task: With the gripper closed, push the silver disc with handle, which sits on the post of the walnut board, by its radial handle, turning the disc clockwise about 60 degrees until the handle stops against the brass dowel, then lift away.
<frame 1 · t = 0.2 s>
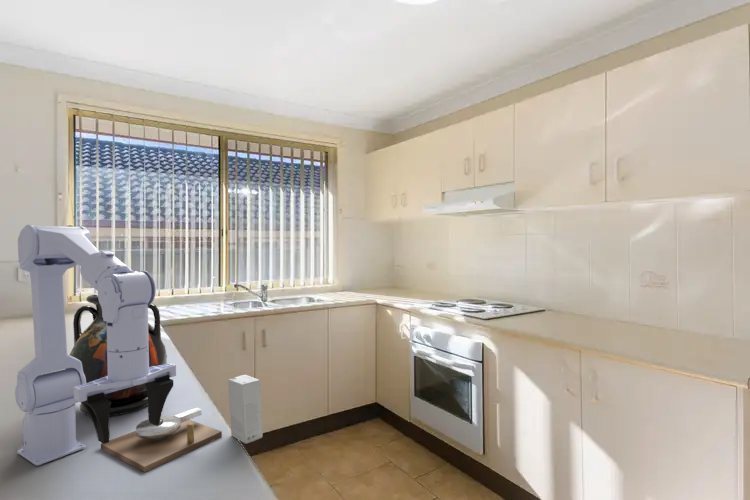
hand: (130, 432, 67), 10 cm above the worktop, tool pointing down, fingers open, 7 cm apart
amphora vase: (119, 406, 104), on the worktop
base board: (162, 442, 84), on the worktop
silver disc with handle: (170, 420, 86), point 4 cm above the worktop, hinge at 90.0°
skincare box: (245, 437, 87), on the worktop
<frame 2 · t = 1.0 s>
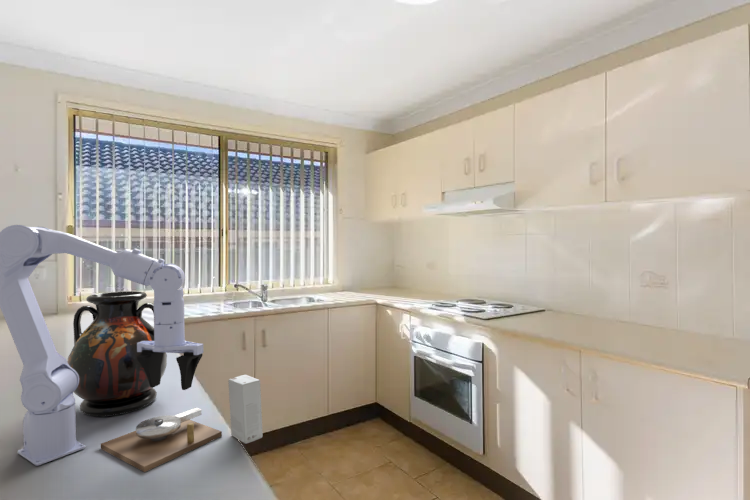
hand: (170, 387, 87), 10 cm above the worktop, tool pointing down, fingers open, 7 cm apart
nothing on the worktop moved.
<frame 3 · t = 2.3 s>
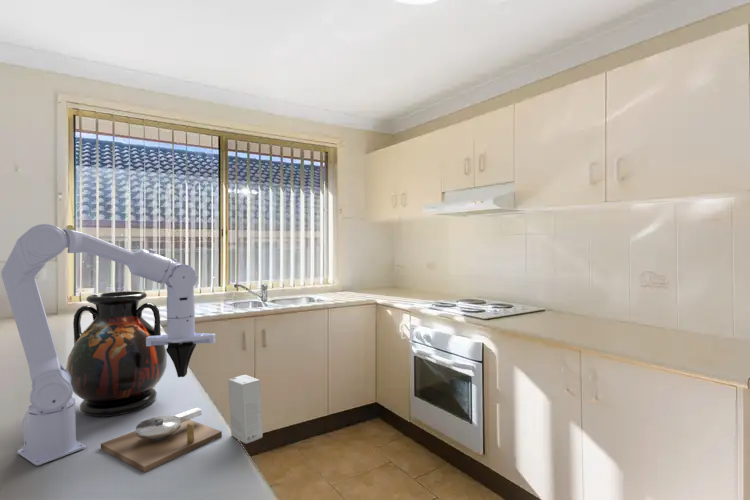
hand: (182, 375, 95), 10 cm above the worktop, tool pointing down, fingers closed
nothing on the worktop moved.
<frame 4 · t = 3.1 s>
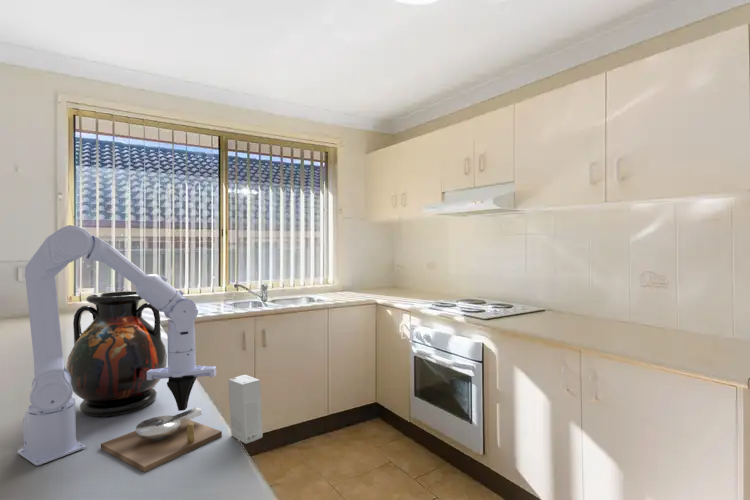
hand: (182, 408, 95), 2 cm above the worktop, tool pointing down, fingers closed
nothing on the worktop moved.
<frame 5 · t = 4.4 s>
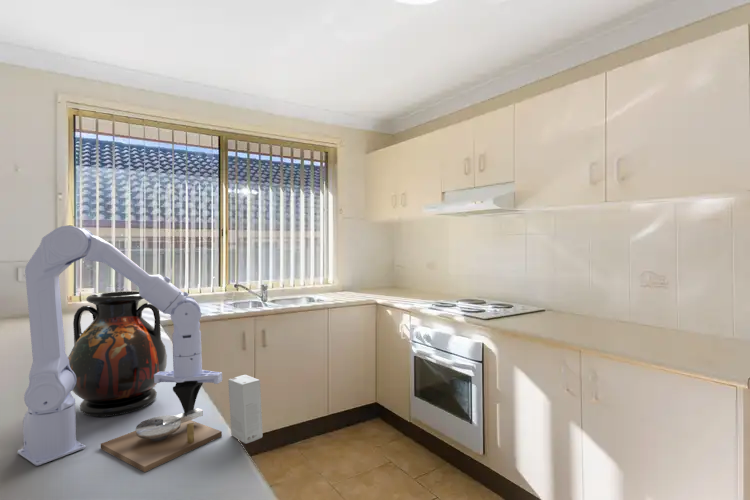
hand: (189, 414, 91), 3 cm above the worktop, tool pointing down, fingers closed, pressing on silver disc with handle
silver disc with handle: (171, 420, 86), point 4 cm above the worktop, hinge at 85.6°, touching gripper
everything else where it was.
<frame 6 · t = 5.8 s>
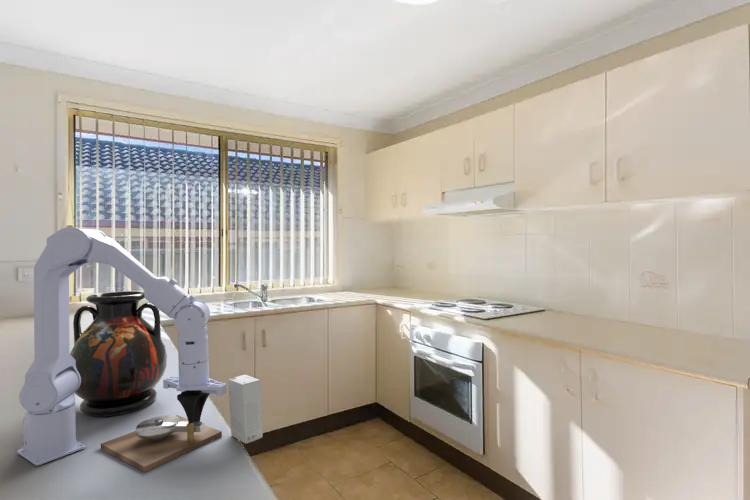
hand: (195, 425, 86), 3 cm above the worktop, tool pointing down, fingers closed, pressing on silver disc with handle
silver disc with handle: (170, 425, 84), point 4 cm above the worktop, hinge at 30.2°, touching base board, gripper
everything else where it was.
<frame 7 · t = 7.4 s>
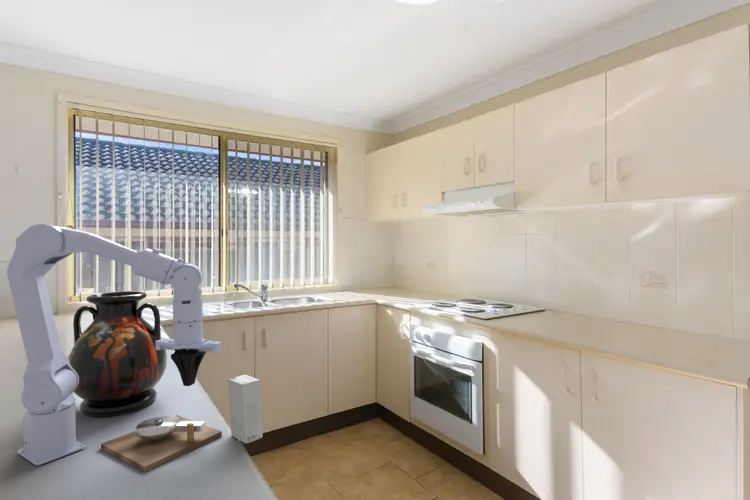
hand: (189, 384, 88), 10 cm above the worktop, tool pointing down, fingers closed
silver disc with handle: (171, 425, 84), point 4 cm above the worktop, hinge at 31.4°
everything else where it was.
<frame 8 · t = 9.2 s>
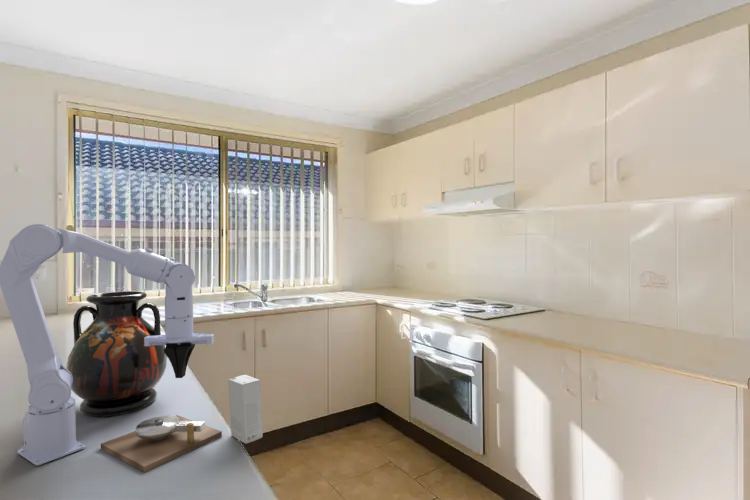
hand: (180, 376, 94), 10 cm above the worktop, tool pointing down, fingers closed
nothing on the worktop moved.
at the end: silver disc with handle at +31° (first picture: +90°) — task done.
